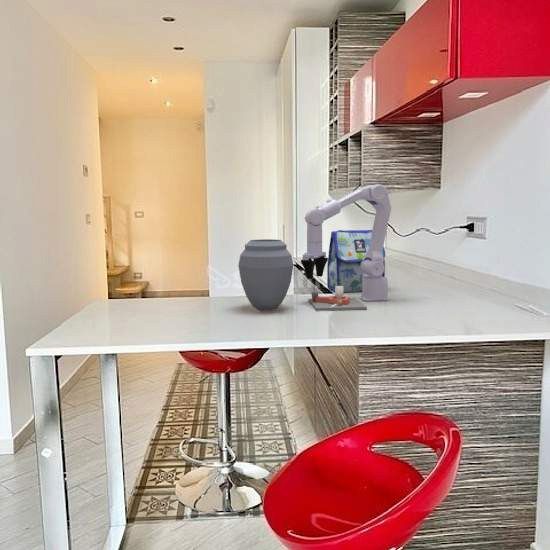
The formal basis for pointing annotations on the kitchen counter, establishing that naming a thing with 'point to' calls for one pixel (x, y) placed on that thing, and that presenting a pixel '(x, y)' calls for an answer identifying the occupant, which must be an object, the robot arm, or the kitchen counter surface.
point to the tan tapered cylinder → (339, 302)
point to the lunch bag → (348, 259)
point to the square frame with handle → (329, 299)
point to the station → (326, 306)
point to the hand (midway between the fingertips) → (314, 277)
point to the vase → (265, 272)
